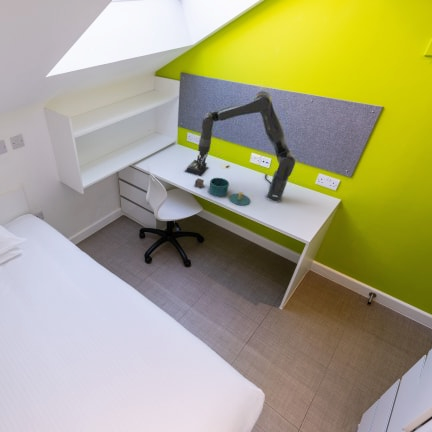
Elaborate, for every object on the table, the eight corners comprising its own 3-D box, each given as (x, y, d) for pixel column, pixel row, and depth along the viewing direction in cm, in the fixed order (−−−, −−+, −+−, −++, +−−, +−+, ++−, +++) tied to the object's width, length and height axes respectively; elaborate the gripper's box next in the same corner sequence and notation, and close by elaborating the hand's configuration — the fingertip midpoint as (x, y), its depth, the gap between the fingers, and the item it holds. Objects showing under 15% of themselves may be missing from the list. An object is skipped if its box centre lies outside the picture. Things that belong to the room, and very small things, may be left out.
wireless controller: (201, 176, 227) (204, 155, 217) (184, 171, 232) (186, 151, 222) (209, 165, 241) (213, 146, 230) (194, 161, 246) (196, 142, 236)
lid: (232, 192, 208) (234, 185, 205) (252, 198, 202) (254, 191, 199) (226, 202, 199) (227, 194, 195) (246, 208, 193) (248, 200, 189)
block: (197, 183, 218) (197, 178, 215) (202, 185, 216) (203, 180, 213) (194, 186, 215) (195, 180, 212) (200, 188, 213) (201, 182, 210)
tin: (212, 186, 215) (214, 176, 210) (229, 191, 210) (231, 181, 205) (205, 194, 207) (207, 183, 202) (222, 199, 201) (225, 189, 196)
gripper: (206, 149, 187) (202, 171, 197) (213, 141, 197) (209, 163, 207) (195, 146, 190) (192, 168, 200) (203, 139, 200) (199, 160, 210)
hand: (200, 166), depth 203 cm, fingers open, 8 cm apart
